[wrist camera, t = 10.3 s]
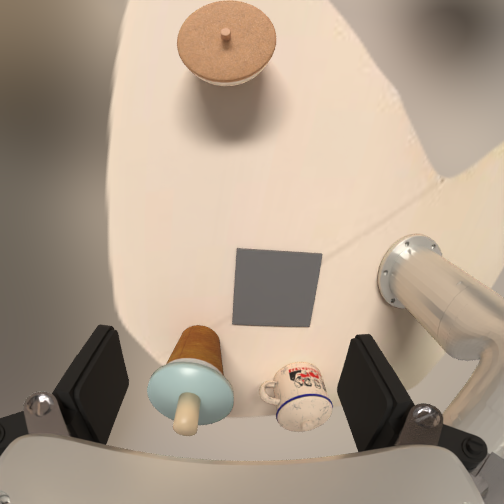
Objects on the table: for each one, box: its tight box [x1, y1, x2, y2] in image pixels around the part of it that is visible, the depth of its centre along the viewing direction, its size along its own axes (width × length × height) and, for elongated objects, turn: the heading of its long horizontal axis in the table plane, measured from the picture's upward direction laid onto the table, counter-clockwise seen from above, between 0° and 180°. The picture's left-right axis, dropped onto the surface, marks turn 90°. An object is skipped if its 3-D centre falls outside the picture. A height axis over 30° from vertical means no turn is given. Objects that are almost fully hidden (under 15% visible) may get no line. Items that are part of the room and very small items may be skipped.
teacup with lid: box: [259, 362, 333, 432], centre depth 44 cm, size 12×9×12 cm
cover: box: [147, 362, 234, 436], centre depth 32 cm, size 11×11×6 cm
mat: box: [232, 248, 322, 327], centre depth 43 cm, size 12×12×1 cm
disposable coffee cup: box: [167, 325, 224, 376], centre depth 40 cm, size 10×10×12 cm
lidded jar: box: [177, 1, 276, 86], centre depth 28 cm, size 11×11×9 cm
